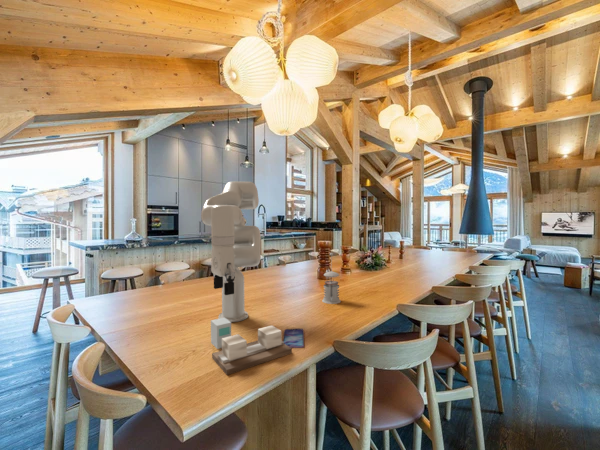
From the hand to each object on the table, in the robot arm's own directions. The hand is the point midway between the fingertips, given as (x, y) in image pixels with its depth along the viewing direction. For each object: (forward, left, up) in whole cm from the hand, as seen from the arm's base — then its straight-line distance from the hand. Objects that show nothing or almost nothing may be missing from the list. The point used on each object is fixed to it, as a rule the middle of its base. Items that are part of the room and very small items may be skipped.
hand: (223, 291), depth 101 cm
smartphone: (+10, +22, -19) cm, 31 cm away
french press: (-15, +63, -19) cm, 68 cm away
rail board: (+13, +4, -19) cm, 23 cm away
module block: (-1, -1, -19) cm, 19 cm away
